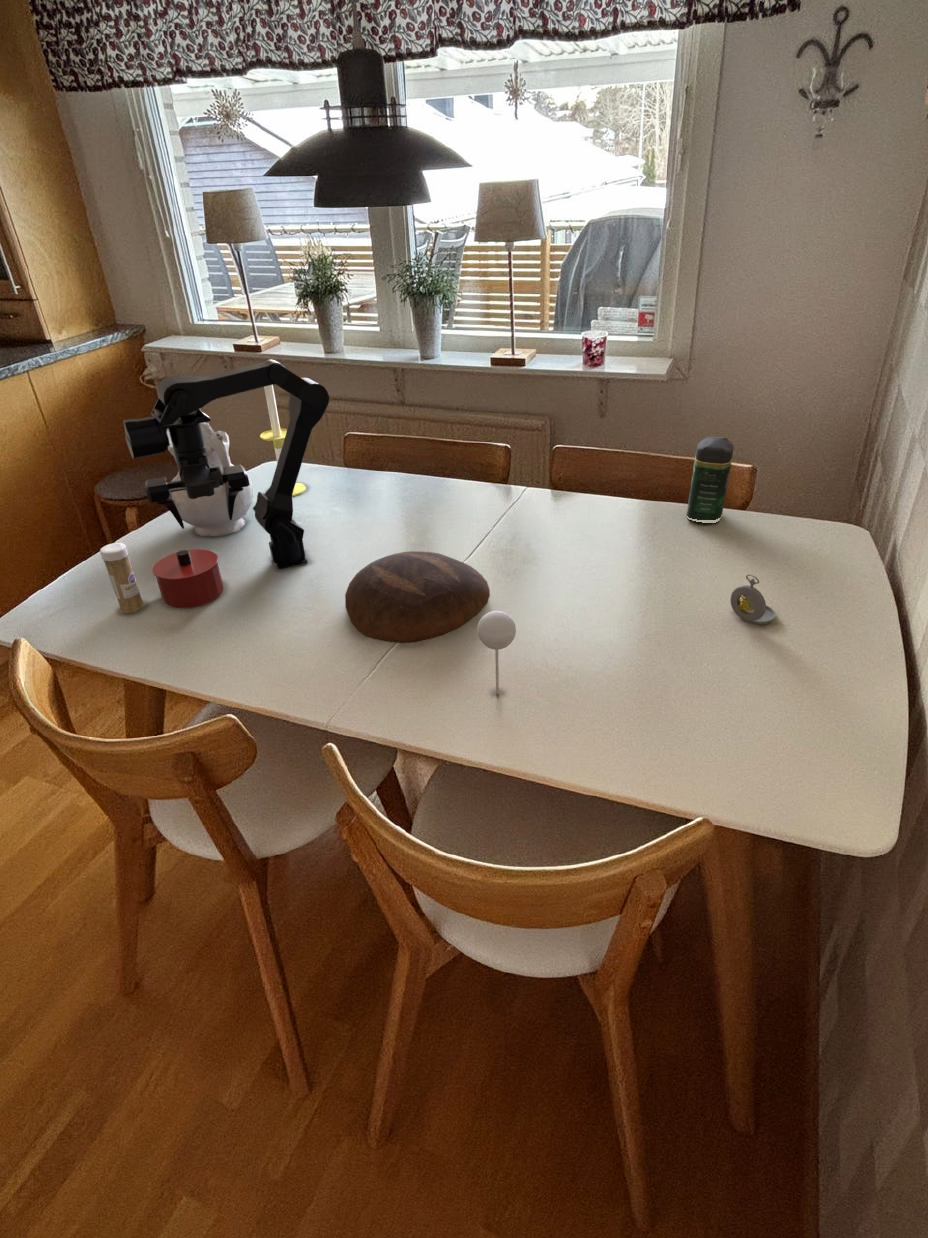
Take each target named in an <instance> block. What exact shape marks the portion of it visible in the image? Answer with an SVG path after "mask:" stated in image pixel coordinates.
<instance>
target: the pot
mask: <svg viewBox="0 0 928 1238" xmlns="http://www.w3.org/2000/svg"><path fill="white" fill-rule="evenodd" d="M155 578H156V583H157V585H158V589H159V592H160V595H161V599H162V601H163V603H164V604H165V605H166V606H168V607H171V608H174V609H175V608H176V609H192V608H197V607H200V606H204V605H206V604H209V603H211V602H213V601H214V600H216V599H217V598H219V597H220V596H221V595H222V594H223V592H224V582H223V578H222V573H221V570H220V565H219V563H218V564H217V566H216V567H215V568H214V569H212V570H211V571H210V572H208V573H206V574H204V575H201V576H199V577H196V578H192V579H187V580H181V581H167V580H162V579H159V578H157V577H155Z"/></svg>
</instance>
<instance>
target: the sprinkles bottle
mask: <svg viewBox="0 0 928 1238" xmlns="http://www.w3.org/2000/svg"><path fill="white" fill-rule="evenodd" d="M99 554H100V556H101V560H102V561H103V562H104V565H105V567H106V571H107V574H108V578H109V580H110V584H111V586H112V590H113V592H114V595H115V597H116V599H117V603H118V606H119V610H120V612H122V613H123V614H132V613H136V612H138V611H140V610H142V609H143V608H144V606H145V602H144V601H143V599H142V598H143V597H142V595H141V592H140V588H139V584H138V581H137V578H136V576H135V574H134V570H133V567H132V564H131V561H130V559H129V551H128V548H127V546H126V544H125V543H122V542H113V543H109V544H106V545H104V546H103V547H101V548H100V550H99Z"/></svg>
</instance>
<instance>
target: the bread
mask: <svg viewBox="0 0 928 1238" xmlns="http://www.w3.org/2000/svg"><path fill="white" fill-rule="evenodd" d="M490 596H491V591H490V587H489V583H488V581H487V580H486V578H485V577H484V575H482V573H480V572H479V571H478V570H477V569H475V568H474V567H473V566H472V565H470V564H467V563H465V562H464V561H461V560H459V559H455V558H453V557H451V556H448V555H445V554H441V553H439V552H433V551H418V550H417V551H416V550H415V551H413V550H411V551H401V552H396V553H393V554H389V555H385V556H383V557H381V558H378V559H376V560H374V561H372V562H370V563H369V564H367V565H366V566H364V567H363V568H361V569H359V571H358V572H357V573H356V574H355V575H354V577H352V579H351V581H350V582H349V583H348V586H347V588H346V591H345V594H344V599H345V601H344V603H345V604H344V605H345V610H346V613H347V616H348V618H349V621H350V623H351V624H352V626H353V627H354V628H355V630H356V631H357V632H358V633H359V634H361V635H362V636H364V637H366V638H369V639H372V640H375V641H380V642H387V643H392V644H393V643H394V644H415V643H420V642H424V641H427V640H431V639H436V638H438V637H442V636H445V635H447V634H449V633H452V632H454V631H456V630H458V629H459V628H461V627H463V626H464V625H466V624H468V623H469V622H470V621H472V620H473V619H474V618H475V617H477V616H478V615H479V614H480V613H481V612H482V611H483V609H484V608H485V607H486V606H487V605H488V603H489V600H490Z"/></svg>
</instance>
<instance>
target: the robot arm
mask: <svg viewBox="0 0 928 1238" xmlns="http://www.w3.org/2000/svg"><path fill="white" fill-rule="evenodd" d="M269 385H276V386H278V387H279V388H281V389H282V390H284V391H285V392H287V393H289V398H288V399H289V400H288V413H289V423H288V426H287V428H286V429H287V432H286V436H285V439H284V440H283V446H282V449H281V453H280V456H279V460H278V463H277V462H276V466H275V471H274V473H273V477H272V481H271V484H270V486H269V488H268V489H267V490H266V491H265V493H264V492H261V491H258V492H257V495H256V502H255V505H254V506H253V507H252V510H253V511H254V519H255V520H256V521H257V523H258V524H259V526H261V527H262V529H263V530H264V531H265V532H266V533H267V534H269V538H270V541H268V547H269V551H270V557H271V560H272V562H273V564H274V565H276V568H277V569H278V570H282V569H287V568H291V567H295V566H300V565H305V564H308V563H309V560H308V558H307V556H306V553H305V551H306V550H305V547H304V540H303V539H304V534H305V529H304V528H303V527H302V526H301V525H300V524H299V523H298V522H297V521H295V519H294V518H293V515H294V503H293V497H292V494H293V491H294V487H295V484H296V483H297V481H298V478H299V475H300V470H301V468H302V464H303V460H304V457H305V454H306V451H307V447H308V445H309V441H310V439H311V434H312V431H313V429H314V428H315V427H316V426H317V424H318V423H319V422H320V421H321V420H322V419H323V416H324V414H325V413H326V410H327V409H328V407H329V404H330V394H329V392H328V390H327V389H326V387H324V385H322V384H320V383H318V382H317V381H314V380H312V379H311V378H308V377H300V376H298V375H296V374H295V373H294V372H292V371H291V370H289V369H288V368H286V367H285V366H284V365H283V364H282V363H281V362H278V360H274V359H267V360H265V361H263V362H259V363H254V364H250V365H247V366H241V367H238V368H233V369H230V370H226V371H225V370H224V371H222V372H218V373H213V374H209V375H178V376H177V375H176V376H168V377H165V378H163V379H162V380H160V383H159V384H158V386H157V400H156V402H155V404H154V406H153V408H152V410H151V412H150V415H151V416H147V417H142V418H128V419H124V420H123V426H124V433H125V435H124V439H125V441H126V445H127V448H128V451H129V453H130V456H131V458H132V459H133V460H135V459H140V458H145V457H151V456H156V455H157V456H158V455H161V454H165V453H166V451H169V450H168V446H170V445H169V439H168V435H167V429H168V430H169V434H170V438H171V442H172V446H173V450H174V454H175V458H176V460H175V462H176V465H177V470H178V471H179V475H180V479H181V480H179V481H173V482H171V481H167V477H166V476H162V477H154V478H150V479H146V481H145V482H144V488H145V493H146V496H147V500H148V502H149V503H156V504H157V506H164V507H165V508H166V509H168V511H169V512H170V513H171V515H172V516H173V517H174V519H175V520H176V522H177V524H178V525H179V527H180V528H181V529H182V530H185V525H184V521H183V520H182V518H181V515H180V513H179V510H178V508H177V505H176V503H175V500H174V498H173V495H172V493H171V492H175V491H181V490H186V491H187V495H188V497H189V498H190V499H197V498H198V497H204V496H207V497H209V496H212V495H214V493H215V492H214V488H218V487H219V486H222V485H224V484H223V483H225V491H226V501H227V510H228V515H229V519H230V520H232V516H233V509H234V503H235V499H236V496H237V494H238V492H240V491H243V487H247V486H249V485H250V484H249V479H248V475H249V474H248V473H247V470H246V468H245V466H243V465H242V464H238V465H234V466H230V467H224V468H223V469H224V473H222V474H221V470H220V467H213V468H212V467H211V468H210V466H209V461H208V457H207V452H206V448H205V443H204V439H203V434H202V430H201V425H200V423H204V422H205V423H208V422H209V423H210V422H211V421H212V420H211V417H210V416H208V414H206V412H203V411H202V409H203V408H205V407H206V406H207V405H209V404H210V403H212V402H214V401H216V400H218V399H221V398H226V397H230V396H233V395H238V394H241V393H245V392H249V391H253V390H257V389H260V388H264V387H265V386H269ZM175 458H174V459H175ZM247 474H248V475H247Z"/></svg>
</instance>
